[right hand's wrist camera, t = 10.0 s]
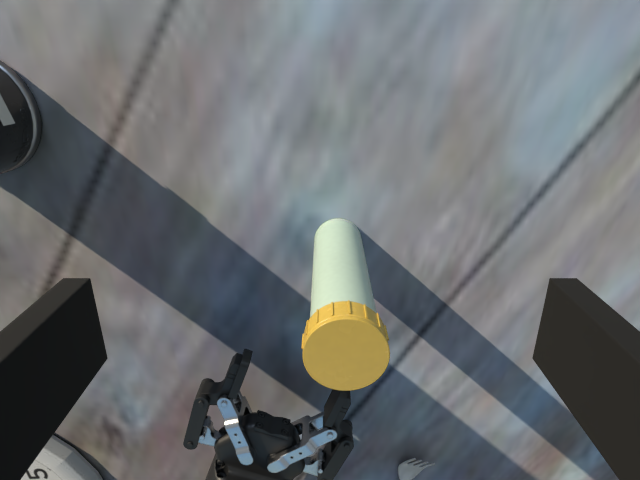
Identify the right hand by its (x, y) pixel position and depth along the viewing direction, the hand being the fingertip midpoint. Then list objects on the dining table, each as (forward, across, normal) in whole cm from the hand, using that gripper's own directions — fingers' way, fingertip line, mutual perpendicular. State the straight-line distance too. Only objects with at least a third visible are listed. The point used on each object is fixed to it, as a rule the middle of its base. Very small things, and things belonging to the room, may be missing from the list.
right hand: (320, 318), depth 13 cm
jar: (+25, -2, +8) cm, 26 cm away
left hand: (+19, +2, +17) cm, 26 cm away
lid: (+9, -1, +8) cm, 12 cm away
